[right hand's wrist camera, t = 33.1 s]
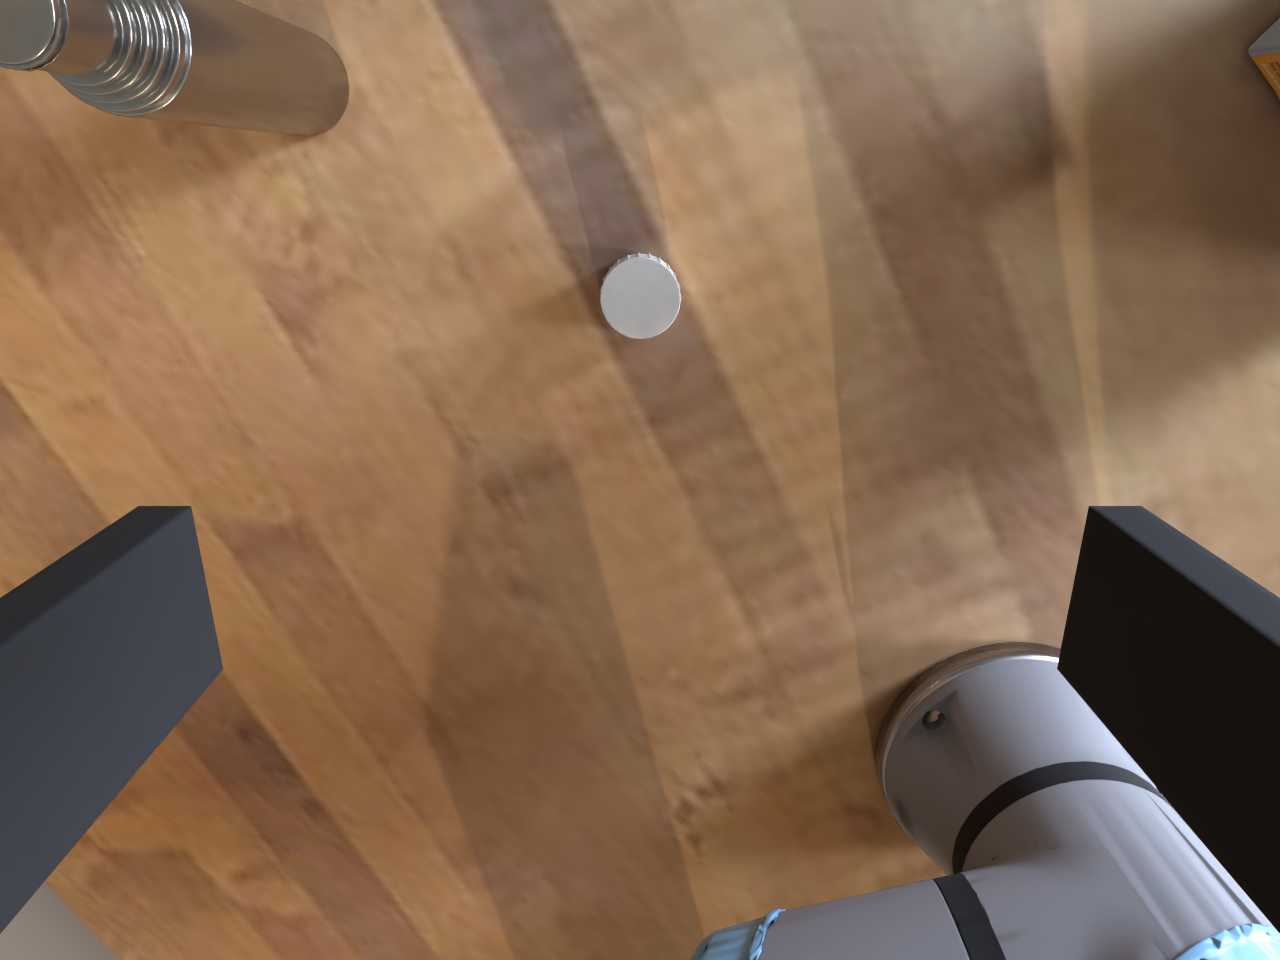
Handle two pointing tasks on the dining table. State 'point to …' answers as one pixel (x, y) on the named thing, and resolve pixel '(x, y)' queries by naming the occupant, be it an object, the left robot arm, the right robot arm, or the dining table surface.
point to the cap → (640, 296)
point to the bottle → (180, 61)
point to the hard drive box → (1268, 55)
